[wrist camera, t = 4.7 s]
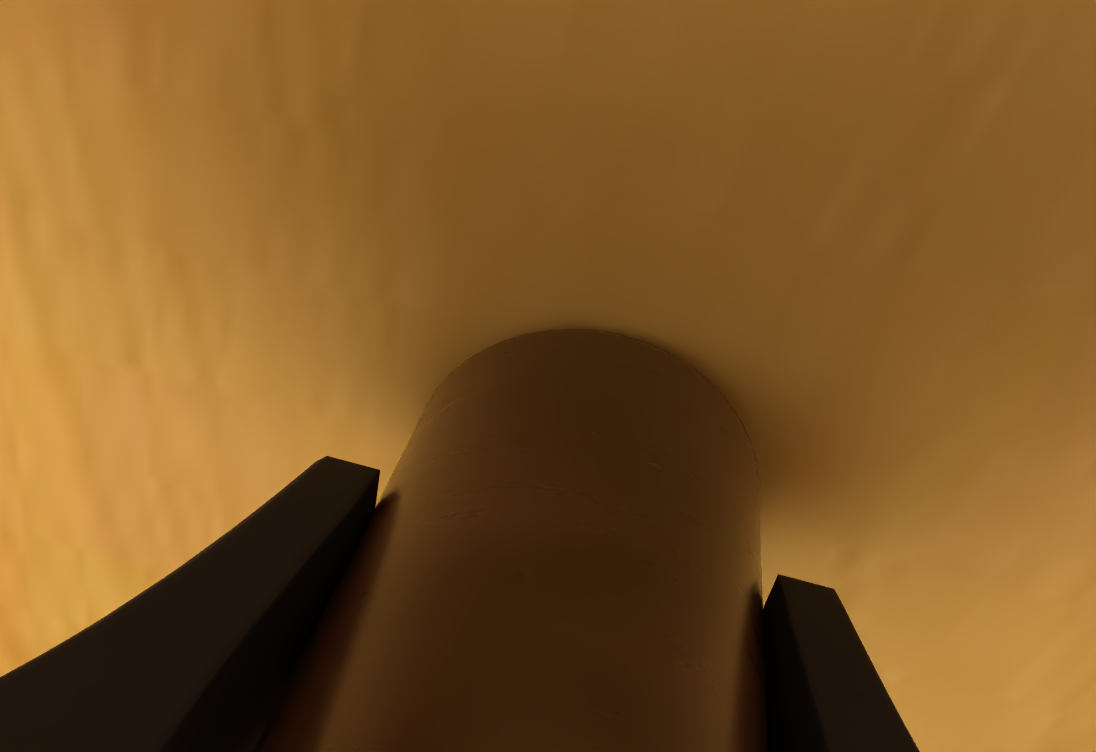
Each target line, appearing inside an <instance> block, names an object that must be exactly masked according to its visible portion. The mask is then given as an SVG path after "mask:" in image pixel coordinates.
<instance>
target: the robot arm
mask: <svg viewBox="0 0 1096 752" xmlns="http://www.w3.org/2000/svg"><path fill="white" fill-rule="evenodd" d="M379 475H380V470H378V469H374V468H371V467H367V466H363V465H359V464H355V463H351V462H348V461H344V460H340V459H336V458H332V457H329V456H326V457H324V458H322V459H320V460H318V461H316V462H315V463H314V464H313V465H311V466H310V467H309V468H308V469H307V470H305V471H304V472H303V473H302V474H301V475H299V476H298V477H297V478H296V479H295V480H293V481H292V482H291V483H290V484H288V485H287V486H286V487H285V488H284V489H282V490H281V491H280V492H279V493H277V494H276V495H275V496H274V497H272V498H271V499H270V500H269V501H267V502H266V503H265V504H264V505H262V506H261V507H260V508H259V509H257V510H256V511H255V512H253V513H252V514H251V515H250V516H248V517H247V518H246V519H244V520H243V521H242V522H241V523H239V524H238V525H237V526H235V527H234V528H233V529H231V530H230V531H229V532H227V533H226V534H225V535H223V536H222V537H220V538H219V539H218V540H216V541H215V542H214V543H212V544H211V545H209V546H208V547H207V548H205V549H204V550H203V551H201V552H200V553H199V554H197V555H196V556H194V557H193V558H192V559H190V560H189V561H188V562H186V563H185V564H184V565H182V566H181V567H179V568H178V569H176V570H175V571H174V572H172V573H171V574H169V575H168V576H166V577H165V578H163V579H162V580H160V581H159V582H157V583H156V584H154V585H153V586H151V587H150V588H148V589H146V590H145V591H143V592H142V593H140V594H139V595H137V596H136V597H134V598H133V599H131V600H130V601H128V602H127V603H125V604H124V605H122V606H121V607H119V608H118V609H116V610H115V611H113V612H111V613H110V614H108V615H107V616H105V617H104V618H102V619H101V620H99V621H97V622H96V623H94V624H92V625H91V626H89V627H88V628H86V629H84V630H83V631H81V632H79V633H78V634H76V635H74V636H73V637H71V638H69V639H68V640H66V641H64V642H62V643H61V644H59V645H57V646H56V647H54V648H52V649H50V650H49V651H47V652H45V653H43V654H42V655H40V656H38V657H36V658H34V659H33V660H31V661H29V662H27V663H25V664H24V665H22V666H20V667H18V668H16V669H15V670H13V671H11V672H9V673H7V674H6V675H4V676H2V677H0V752H253V751H254V749H255V747H256V745H257V743H258V741H259V739H260V737H261V735H262V733H263V731H264V729H265V727H266V725H267V723H268V721H269V719H270V717H271V715H272V713H273V711H274V709H275V707H276V705H277V703H278V701H279V699H280V697H281V695H282V693H283V691H284V689H285V687H286V685H287V683H288V681H289V679H290V677H291V675H292V673H293V671H294V669H295V667H296V665H297V663H298V661H299V659H300V657H301V655H302V653H303V651H304V649H305V647H306V645H307V643H308V641H309V639H310V637H311V635H312V633H313V631H314V629H315V627H316V625H317V623H318V621H319V619H320V617H321V615H322V613H323V611H324V609H325V607H326V605H327V603H328V601H329V599H330V597H331V595H332V593H333V591H334V589H335V587H336V585H337V583H338V581H339V579H340V577H341V575H342V573H343V572H344V570H345V568H346V566H347V564H348V562H349V560H350V558H351V556H352V554H353V552H354V550H355V548H356V546H357V544H358V542H359V540H360V538H361V536H362V534H363V532H364V530H365V528H366V526H367V524H368V522H369V520H370V518H371V516H372V514H373V512H374V510H375V505H376V498H377V490H378V483H379ZM763 628H764V655H765V681H766V708H767V735H768V752H920V751H919V750H918V748H917V746H916V744H915V742H914V741H913V739H912V737H911V735H910V734H909V732H908V730H907V728H906V726H905V725H904V723H903V721H902V719H901V717H900V715H899V713H898V712H897V710H896V708H895V706H894V704H893V702H892V700H891V698H890V697H889V695H888V693H887V691H886V689H885V687H884V685H883V683H882V681H881V679H880V677H879V675H878V673H877V672H876V670H875V668H874V666H873V664H872V662H871V660H870V658H869V656H868V654H867V652H866V650H865V648H864V646H863V644H862V642H861V640H860V638H859V636H858V634H857V632H856V630H855V628H854V626H853V624H852V622H851V620H850V618H849V616H848V614H847V612H846V610H845V608H844V606H843V605H842V603H841V601H840V599H839V597H838V595H837V593H836V592H835V590H834V589H832V588H828V587H825V586H821V585H817V584H813V583H809V582H805V581H802V580H798V579H794V578H790V577H786V576H783V575H779V574H778V576H777V578H776V581H775V583H774V585H773V587H772V590H771V592H770V594H769V596H768V599H767V601H766V603H765V606H764V608H763Z"/></svg>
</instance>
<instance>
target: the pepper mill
mask: <svg viewBox="0 0 1096 752" xmlns="http://www.w3.org/2000/svg"><path fill="white" fill-rule="evenodd" d="M253 752H768V735H767V708H766V681H765V655H764V628H763V601H762V574H761V547H760V521H759V494H758V471H757V465H756V460H755V455H754V451H753V448H752V446H751V443H750V440H749V437H748V435H747V432H746V430H745V429H744V427H743V425H742V423H741V421H740V419H739V418H738V416H737V414H736V413H735V411H734V410H733V409H732V407H731V406H730V405H729V403H728V402H727V401H726V399H725V398H724V397H723V396H722V395H721V394H720V393H719V392H718V391H717V390H716V389H715V388H714V387H713V386H712V385H711V384H710V383H709V381H707V380H706V379H705V378H704V377H703V376H701V375H700V374H699V373H697V372H696V371H695V370H694V369H692V368H691V367H690V366H688V365H687V364H685V363H684V362H682V361H680V360H679V359H677V358H675V357H674V356H672V355H670V354H669V353H667V352H664V351H662V350H660V349H658V348H655V347H653V346H651V345H649V344H647V343H644V342H641V341H637V340H634V339H631V338H628V337H625V336H621V335H616V334H611V333H606V332H601V331H592V330H578V329H565V330H548V331H541V332H535V333H529V334H525V335H521V336H518V337H515V338H511V339H508V340H504V341H502V342H500V343H498V344H495V345H493V346H491V347H489V348H486V349H484V350H482V351H481V352H479V353H477V354H476V355H474V356H473V357H471V358H469V359H468V360H466V361H465V362H464V363H463V364H461V365H460V366H459V367H458V368H457V369H455V370H454V371H453V372H452V373H451V374H450V375H449V376H448V377H447V378H446V379H445V380H444V382H443V383H442V384H441V385H440V386H439V387H438V388H437V390H436V392H435V393H434V395H433V396H432V398H431V400H430V401H429V403H428V404H427V406H426V408H425V410H424V412H423V414H422V416H421V418H420V420H419V422H418V424H417V426H416V428H415V430H414V432H413V434H412V436H411V438H410V440H409V442H408V444H407V446H406V448H405V450H404V452H403V454H402V456H401V458H400V460H399V462H398V464H397V466H396V468H395V470H394V472H393V474H392V476H391V478H390V480H389V482H388V484H387V486H386V488H385V490H384V492H383V494H382V496H381V498H380V500H379V502H378V504H377V506H376V508H375V510H374V512H373V514H372V516H371V518H370V520H369V522H368V524H367V526H366V528H365V530H364V532H363V534H362V536H361V538H360V540H359V542H358V544H357V546H356V548H355V550H354V552H353V554H352V556H351V558H350V560H349V562H348V564H347V566H346V568H345V570H344V572H343V573H342V575H341V577H340V579H339V581H338V583H337V585H336V587H335V589H334V591H333V593H332V595H331V597H330V599H329V601H328V603H327V605H326V607H325V609H324V611H323V613H322V615H321V617H320V619H319V621H318V623H317V625H316V627H315V629H314V631H313V633H312V635H311V637H310V639H309V641H308V643H307V645H306V647H305V649H304V651H303V653H302V655H301V657H300V659H299V661H298V663H297V665H296V667H295V669H294V671H293V673H292V675H291V677H290V679H289V681H288V683H287V685H286V687H285V689H284V691H283V693H282V695H281V697H280V699H279V701H278V703H277V705H276V707H275V709H274V711H273V713H272V715H271V717H270V719H269V721H268V723H267V725H266V727H265V729H264V731H263V733H262V735H261V737H260V739H259V741H258V743H257V745H256V747H255V749H254V751H253Z"/></svg>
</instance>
